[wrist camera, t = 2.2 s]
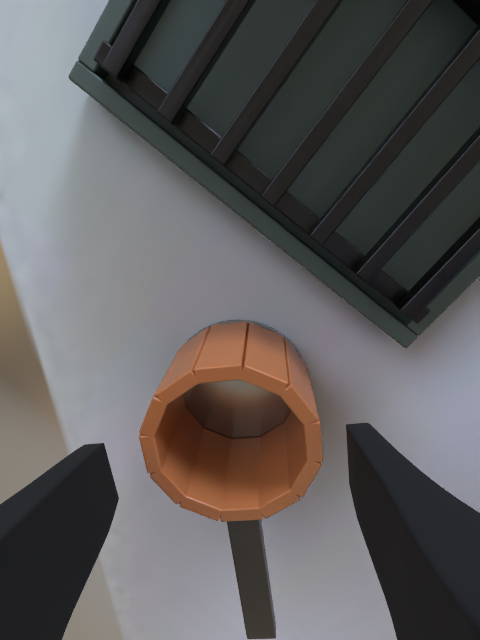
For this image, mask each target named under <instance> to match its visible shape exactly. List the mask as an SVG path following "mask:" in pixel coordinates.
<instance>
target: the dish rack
mask: <svg viewBox="0 0 480 640" xmlns="http://www.w3.org/2000/svg"><path fill="white" fill-rule="evenodd" d="M69 79H70V80H71V81H72V82H74V83H75V84H76V85H77V86H79V87H80V88H81V89H82V90H84V91H85V92H86V93H87V94H89V95H90V96H91V97H92V98H94V99H95V100H96V101H97V102H98V103H100V104H101V105H102V106H103V107H105V108H106V109H107V110H108V111H110V112H111V113H112V114H113V115H115V116H116V117H117V118H118V119H120V120H121V121H122V122H123V123H125V124H126V125H127V126H128V127H130V128H131V129H132V130H133V131H135V132H136V133H137V134H138V135H140V136H141V137H142V138H143V139H145V140H146V141H147V142H148V143H150V144H151V145H152V146H153V147H155V148H156V149H157V150H158V151H160V152H161V153H162V154H163V155H165V156H166V157H167V158H168V159H170V160H171V161H172V162H173V163H175V164H176V165H177V166H178V167H180V168H181V169H182V170H183V171H185V172H186V173H187V174H188V175H190V176H191V177H192V178H193V179H195V180H196V181H197V182H198V183H200V184H201V185H202V186H203V187H205V188H206V189H207V190H208V191H210V192H211V193H212V194H213V195H215V196H216V197H217V198H218V199H220V200H221V201H222V202H223V203H225V204H226V205H227V206H228V207H230V208H231V209H232V210H233V211H235V212H236V213H237V214H238V215H240V216H241V217H242V218H243V219H245V220H246V221H247V222H248V223H250V224H251V225H252V226H253V227H255V228H256V229H257V230H258V231H260V232H261V233H262V234H263V235H265V236H266V237H267V238H268V239H270V240H271V241H272V242H273V243H275V244H276V245H277V246H278V247H280V248H281V249H282V250H283V251H285V252H286V253H287V254H288V255H290V256H291V257H292V258H293V259H295V260H296V261H297V262H298V263H300V264H301V265H302V266H303V267H305V268H306V269H307V270H308V271H310V272H311V273H312V274H313V275H315V276H316V277H317V278H318V279H320V280H321V281H322V282H323V283H324V284H326V285H327V286H328V287H329V288H331V289H332V290H333V291H334V292H336V293H337V294H338V295H339V296H341V297H342V298H343V299H344V300H346V301H347V302H348V303H349V304H351V305H352V306H353V307H354V308H356V309H357V310H358V311H359V312H361V313H362V314H363V315H364V316H366V317H367V318H368V319H369V320H371V321H372V322H373V323H374V324H376V325H377V326H378V327H379V328H381V329H382V330H383V331H384V332H386V333H387V334H388V335H389V336H391V337H392V338H393V339H394V340H396V341H397V342H398V343H399V344H401V345H402V346H403V347H405V348H407V347H408V346H409V345H410V344H411V343H412V342H413V341H414V340H415V339H416V338H417V335H420V334H421V333H422V332H423V331H424V330H425V329H426V328H427V327H428V326H429V325H430V324H431V323H432V322H433V321H434V320H435V319H436V318H437V317H438V316H439V315H440V314H441V313H442V312H443V311H444V310H445V309H446V308H447V307H448V306H449V305H450V304H452V303H453V302H454V301H455V300H456V299H457V298H458V297H459V296H460V295H461V294H462V293H463V292H464V291H465V290H466V289H467V288H468V287H469V286H470V285H471V284H472V283H473V282H474V281H475V280H476V279H477V278H478V277H479V276H480V0H109V2H108V4H107V6H106V7H105V9H104V11H103V13H102V15H101V17H100V19H99V21H98V22H97V24H96V26H95V28H94V30H93V32H92V34H91V35H90V37H89V39H88V41H87V43H86V45H85V47H84V49H83V50H82V52H81V54H80V56H79V61H77V62H76V63H75V65H74V67H73V69H72V71H71V73H70V75H69Z"/></svg>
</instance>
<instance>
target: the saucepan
mask: <svg viewBox="0 0 480 640" xmlns="http://www.w3.org/2000/svg"><path fill="white" fill-rule="evenodd" d="M139 439H140V443H141V447H142V451H143V456H144V460H145V464H146V468H147V472H148V473H150V477H151V478H152V479H153V481H154V482H155V483H156V484H157V485H158V486H159V487H160V488H161V489H162V490H163V491H164V492H165V493H166V494H167V495H168V496H169V497H170V498H171V499H172V500H173V502H174V503H175V504H178V503H180V507H182V508H185V509H187V510H190V511H192V512H195V513H198V514H200V515H203V516H206V517H208V518H211V519H213V520H216V521H218V520H219V518H220V519H221V521H222V522H226V521H227V525H228V531H229V537H230V542H231V548H232V554H233V560H234V566H235V571H236V577H237V583H238V589H239V594H240V600H241V606H242V612H243V617H244V623H245V629H246V635H247V639H273V638H276V623H275V616H274V609H273V601H272V594H271V587H270V580H269V573H268V566H267V559H266V552H265V545H264V538H263V530H262V523H261V519H262V518H263V516H264V517H265V518H268V517H269V516H271V515H273V514H275V513H277V512H279V511H280V510H282V509H284V508H286V507H288V506H289V505H291V504H293V503H295V502H297V501H299V500H300V496H301V497H303V496H304V494H305V493H306V491H307V489H308V487H309V486H310V484H311V482H312V481H313V479H314V477H315V476H316V474H317V472H318V470H319V469H320V467H321V465H322V463H321V462H322V461H323V453H322V441H321V428H320V420H319V416H318V412H317V407H316V403H315V399H314V394H313V390H312V385H311V381H310V377H309V372H308V368H307V367H306V363H305V362H304V361H303V359H302V357H301V355H300V353H299V352H298V350H297V349H296V347H295V346H294V345H293V344H292V343H291V342H290V341H289V340H288V339H287V338H286V337H285V336H284V335H283V334H281V333H280V332H278V331H277V330H275V329H273V328H271V327H269V326H267V325H264V324H261V323H258V322H253V321H248V320H228V321H222V322H218V323H215V324H212V325H210V326H208V327H205V328H203V329H202V330H200V331H199V332H197V333H196V334H195V335H193V336H192V337H191V338H190V339H189V340H188V341H187V342H186V343H185V344H184V345H182V347H181V348H180V349H179V351H178V353H177V354H176V356H175V358H174V360H173V362H172V363H171V365H170V367H169V369H168V371H167V373H166V374H165V376H164V378H163V380H162V382H161V383H160V385H159V387H158V389H157V391H156V392H155V394H154V396H153V398H152V401H151V403H150V406H149V408H148V411H147V413H146V416H145V418H144V421H143V424H142V426H141V429H140V436H139Z"/></svg>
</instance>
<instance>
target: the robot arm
mask: <svg viewBox="0 0 480 640" xmlns="http://www.w3.org/2000/svg"><path fill="white" fill-rule="evenodd" d="M346 432H347V449H348V467H349V484H350V489H351V493H352V498H353V502H354V506H355V511H356V515H357V519H358V522H359V525H360V528H361V530H362V533H363V536H364V539H365V542H366V545H367V548H368V550H369V553H370V556H371V559H372V562H373V564H374V567H375V570H376V573H377V576H378V579H379V581H380V584H381V587H382V590H383V593H384V596H385V598H386V601H387V605H388V608H389V611H390V614H391V617H392V621H393V625H394V629H395V632H396V636H397V640H480V513H479V512H477V511H476V510H474V509H473V508H471V507H469V506H468V505H466V504H465V503H463V502H462V501H460V500H459V499H457V498H456V497H454V496H453V495H451V494H450V493H449V492H447V491H446V490H444V489H443V488H442V487H440V486H439V485H438V484H436V483H435V482H434V481H433V480H431V479H430V478H429V477H427V476H426V475H425V474H424V473H423V472H421V471H420V470H419V469H418V468H417V467H415V466H414V465H413V464H412V463H411V462H410V461H409V460H407V459H406V458H405V457H404V456H403V455H402V454H401V453H399V452H398V451H397V450H396V449H395V448H394V447H393V446H392V445H391V444H390V443H389V442H388V441H387V440H386V439H385V438H384V437H383V436H381V435H380V434H379V433H378V432H377V431H376V430H375V429H374V428H373V427H372V426H371V425H370V424H369V423H360V424H347V425H346ZM118 500H119V498H118V494H117V490H116V486H115V483H114V479H113V475H112V472H111V468H110V464H109V460H108V457H107V453H106V449H105V446H104V443H100V444H87V445H83V446H82V447H80V448H79V449H77V450H76V451H74V452H73V453H71V454H70V455H68V456H67V457H66V458H64V459H63V460H61V461H60V462H59V463H57V464H56V465H55V466H53V467H52V468H51V469H49V470H48V471H47V472H45V473H44V474H43V475H41V476H40V477H38V478H37V479H36V480H34V481H33V482H32V483H30V484H29V485H27V486H26V487H25V488H23V489H22V490H21V491H19V492H18V493H16V494H15V495H13V496H12V497H10V498H9V499H7V500H6V501H5V502H3V503H2V504H0V640H62V638H63V635H64V632H65V629H66V627H67V624H68V622H69V620H70V617H71V615H72V612H73V610H74V608H75V606H76V603H77V601H78V599H79V597H80V595H81V592H82V590H83V588H84V586H85V583H86V581H87V579H88V577H89V575H90V573H91V570H92V568H93V566H94V564H95V562H96V559H97V557H98V555H99V553H100V551H101V548H102V546H103V544H104V542H105V539H106V537H107V535H108V532H109V529H110V526H111V523H112V520H113V517H114V514H115V510H116V507H117V503H118Z"/></svg>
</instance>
